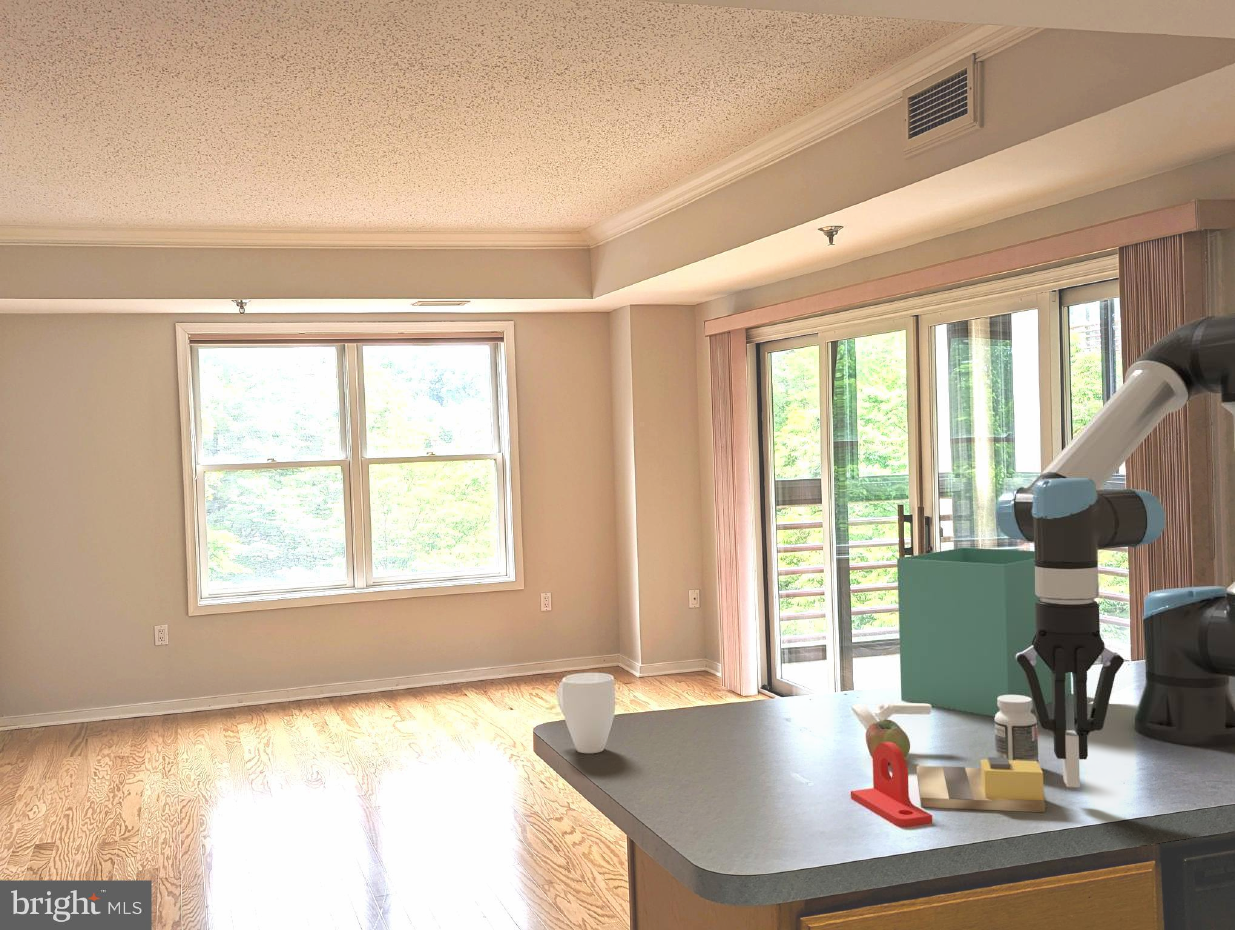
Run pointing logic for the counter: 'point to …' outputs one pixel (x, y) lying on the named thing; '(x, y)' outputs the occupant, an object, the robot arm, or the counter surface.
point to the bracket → (891, 789)
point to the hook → (888, 711)
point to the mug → (588, 709)
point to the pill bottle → (1016, 729)
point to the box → (968, 628)
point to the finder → (1011, 779)
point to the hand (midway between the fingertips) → (1071, 783)
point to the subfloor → (964, 791)
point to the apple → (887, 736)
